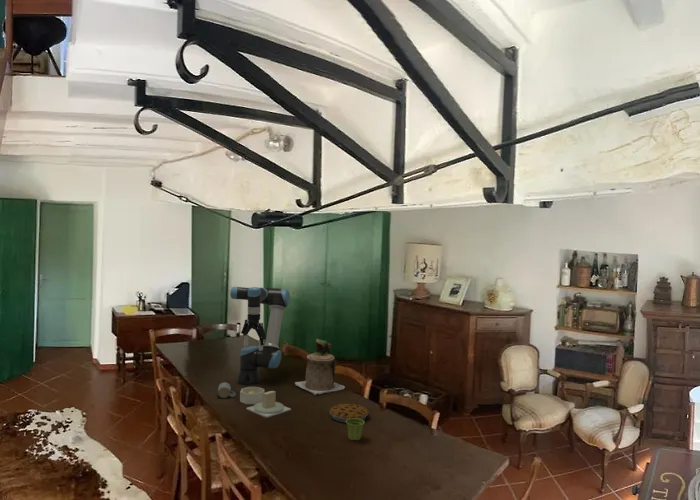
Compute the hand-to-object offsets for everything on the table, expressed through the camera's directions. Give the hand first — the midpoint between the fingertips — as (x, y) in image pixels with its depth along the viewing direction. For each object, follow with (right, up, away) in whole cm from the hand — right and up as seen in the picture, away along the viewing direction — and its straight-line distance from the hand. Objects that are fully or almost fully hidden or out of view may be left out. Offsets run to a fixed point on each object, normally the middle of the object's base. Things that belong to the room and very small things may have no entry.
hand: (253, 348), depth 328 cm
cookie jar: (+39, -31, +27) cm, 56 cm away
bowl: (0, -31, -3) cm, 31 cm away
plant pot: (+61, -36, -53) cm, 88 cm away
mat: (+12, -32, -18) cm, 39 cm away
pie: (+58, -35, -24) cm, 71 cm away
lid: (+12, -31, -18) cm, 38 cm away
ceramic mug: (-17, -30, +2) cm, 34 cm away
